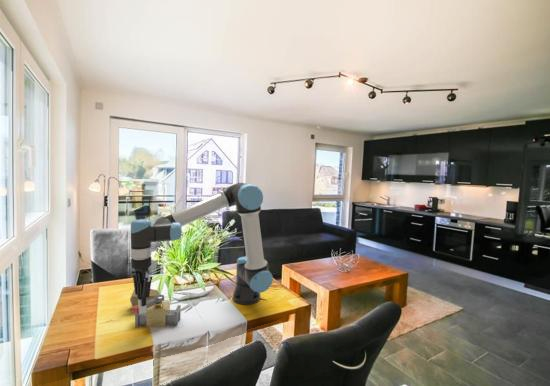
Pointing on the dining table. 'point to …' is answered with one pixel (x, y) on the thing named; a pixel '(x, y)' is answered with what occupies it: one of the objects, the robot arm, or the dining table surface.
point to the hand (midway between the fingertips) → (142, 312)
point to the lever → (150, 303)
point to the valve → (158, 316)
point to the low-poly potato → (152, 293)
